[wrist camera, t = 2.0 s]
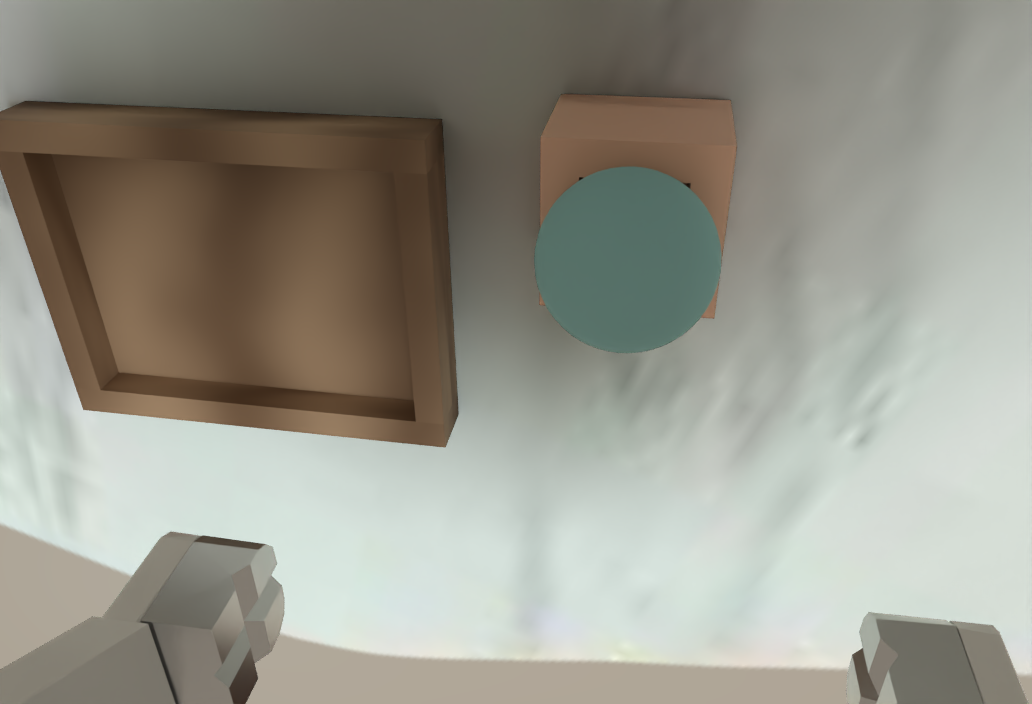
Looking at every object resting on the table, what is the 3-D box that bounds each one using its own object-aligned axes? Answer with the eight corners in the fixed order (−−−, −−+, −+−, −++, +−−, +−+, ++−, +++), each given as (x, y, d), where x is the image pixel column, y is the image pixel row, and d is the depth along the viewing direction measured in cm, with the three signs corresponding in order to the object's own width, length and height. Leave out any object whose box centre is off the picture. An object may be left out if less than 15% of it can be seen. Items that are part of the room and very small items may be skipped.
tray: (442, 119, 26) (424, 140, 24) (458, 414, 31) (445, 447, 30) (25, 100, 28) (-18, 119, 26) (113, 380, 34) (83, 409, 32)
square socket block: (730, 99, 24) (737, 146, 20) (711, 255, 26) (713, 318, 23) (561, 94, 25) (540, 136, 21) (558, 245, 27) (539, 305, 24)
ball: (729, 145, 21) (737, 216, 17) (708, 304, 23) (712, 397, 20) (549, 136, 22) (519, 203, 18) (546, 292, 24) (520, 380, 20)
